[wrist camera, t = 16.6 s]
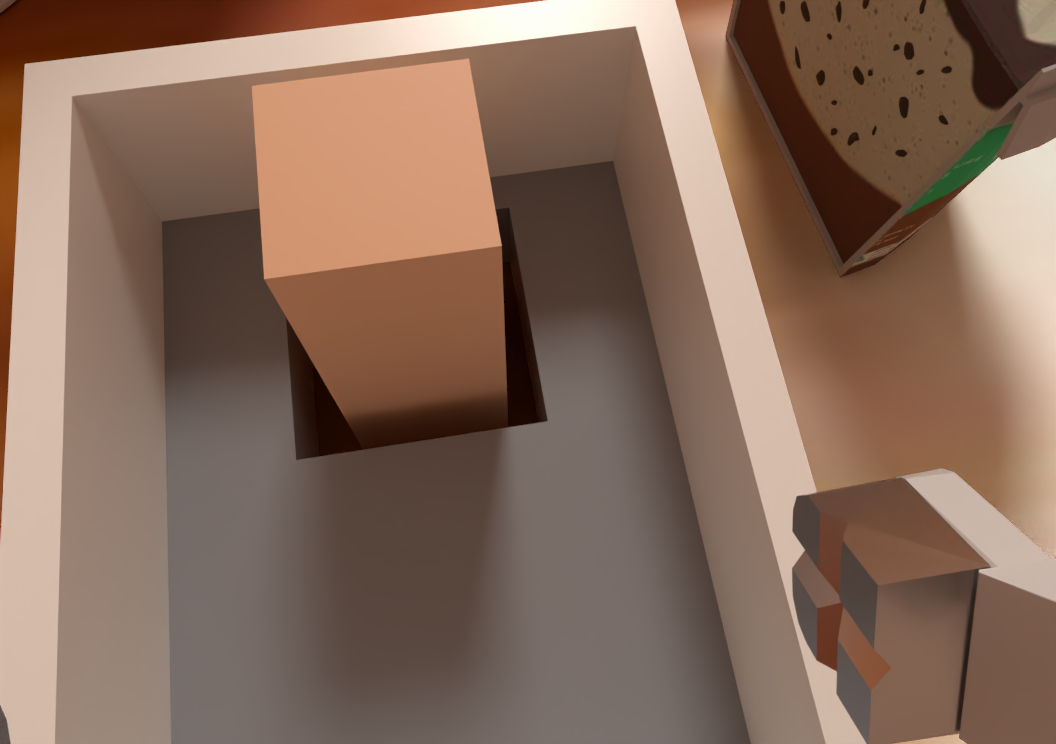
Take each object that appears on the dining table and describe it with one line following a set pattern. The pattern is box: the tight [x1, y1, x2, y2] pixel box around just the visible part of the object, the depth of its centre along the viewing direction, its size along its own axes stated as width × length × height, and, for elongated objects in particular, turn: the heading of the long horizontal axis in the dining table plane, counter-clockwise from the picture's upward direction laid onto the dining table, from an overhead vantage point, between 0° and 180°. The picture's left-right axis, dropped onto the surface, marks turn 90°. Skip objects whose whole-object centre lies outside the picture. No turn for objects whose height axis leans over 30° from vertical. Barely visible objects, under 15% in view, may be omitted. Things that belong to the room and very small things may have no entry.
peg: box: [252, 59, 508, 449], centre depth 20 cm, size 4×4×10 cm
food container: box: [726, 0, 1056, 277], centre depth 23 cm, size 12×6×10 cm, turn 17°
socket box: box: [0, 0, 866, 744], centre depth 20 cm, size 14×18×8 cm
